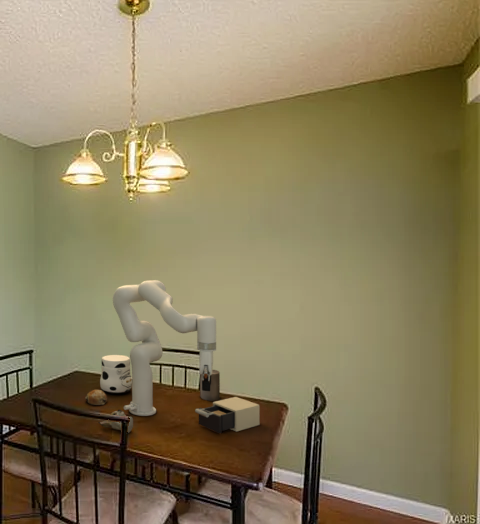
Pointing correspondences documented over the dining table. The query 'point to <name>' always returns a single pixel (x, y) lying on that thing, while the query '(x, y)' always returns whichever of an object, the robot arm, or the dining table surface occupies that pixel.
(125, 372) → the milk container
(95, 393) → the bread roll
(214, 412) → the block
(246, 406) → the cabinet
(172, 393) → the dining table surface
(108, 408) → the dining table surface
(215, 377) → the pillar candle
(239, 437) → the dining table surface
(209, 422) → the drawer
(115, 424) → the ceramic sculpture
